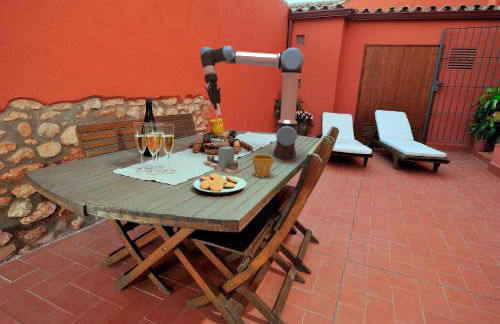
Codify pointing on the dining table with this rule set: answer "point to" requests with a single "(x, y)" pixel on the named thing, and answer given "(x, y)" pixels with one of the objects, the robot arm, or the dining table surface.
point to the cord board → (230, 169)
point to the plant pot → (262, 164)
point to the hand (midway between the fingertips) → (218, 115)
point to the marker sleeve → (225, 156)
